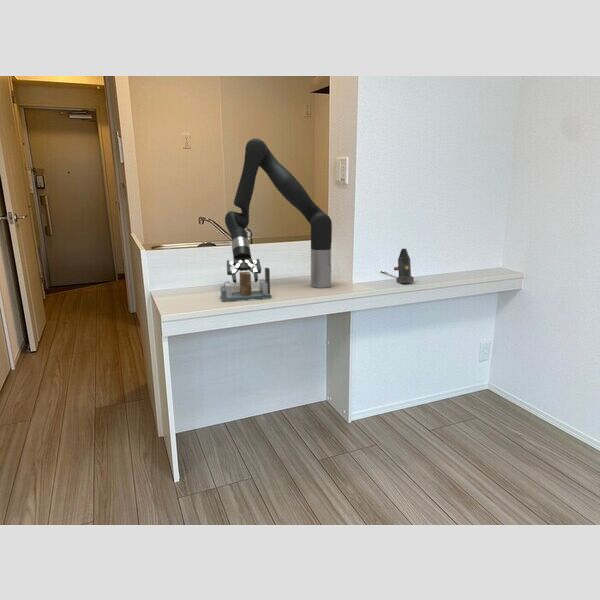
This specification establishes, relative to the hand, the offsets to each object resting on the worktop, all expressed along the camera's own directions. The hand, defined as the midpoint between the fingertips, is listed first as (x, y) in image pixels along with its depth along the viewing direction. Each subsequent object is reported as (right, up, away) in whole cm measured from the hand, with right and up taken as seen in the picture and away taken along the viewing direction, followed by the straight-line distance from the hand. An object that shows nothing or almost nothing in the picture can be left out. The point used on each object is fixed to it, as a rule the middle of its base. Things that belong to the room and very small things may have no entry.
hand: (245, 281), depth 193 cm
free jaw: (+8, -4, +5) cm, 10 cm away
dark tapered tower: (+69, +3, +39) cm, 79 cm away
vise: (0, -7, +3) cm, 7 cm away
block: (0, -5, +3) cm, 6 cm away
